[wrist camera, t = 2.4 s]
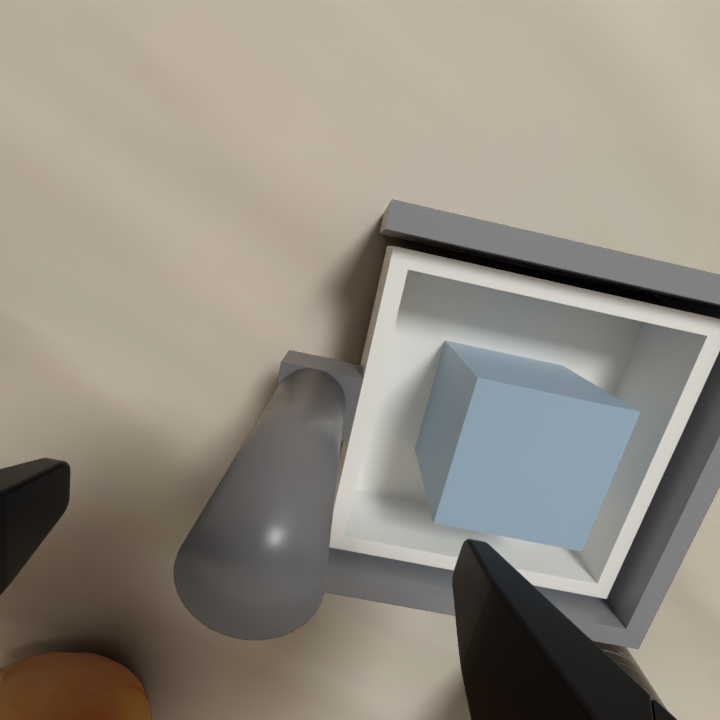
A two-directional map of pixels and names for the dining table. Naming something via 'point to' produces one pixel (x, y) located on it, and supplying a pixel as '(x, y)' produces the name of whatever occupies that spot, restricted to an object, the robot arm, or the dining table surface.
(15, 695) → the onion
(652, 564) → the bay
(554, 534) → the light blue cube
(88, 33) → the dining table surface
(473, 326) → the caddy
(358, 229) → the dining table surface
